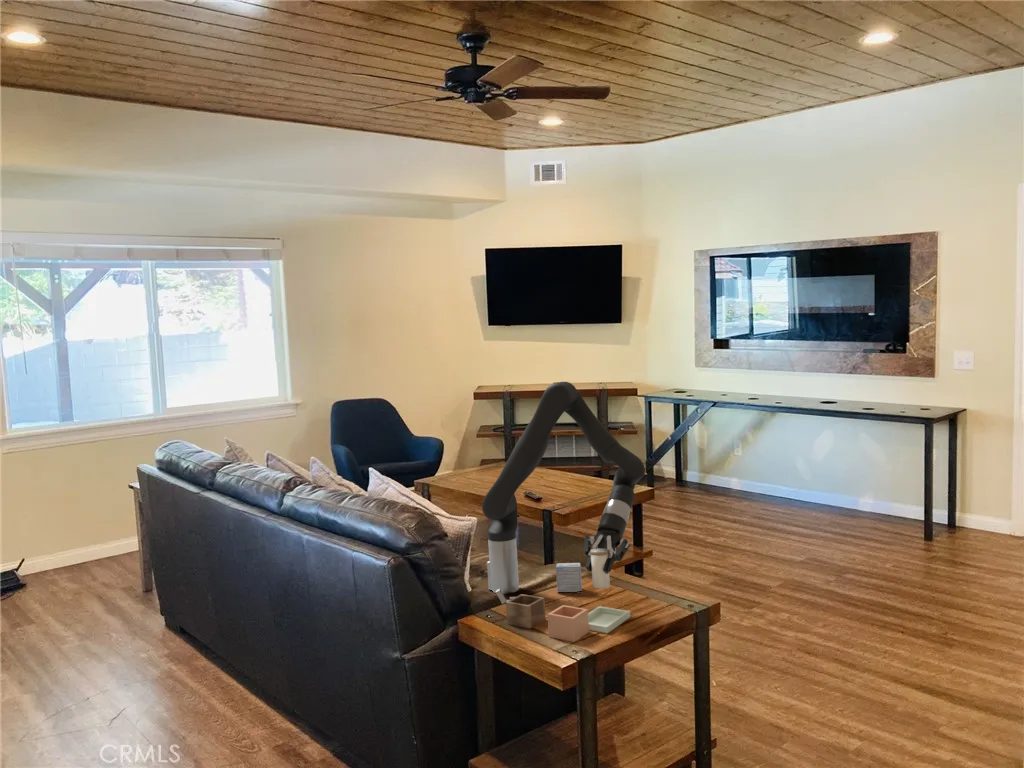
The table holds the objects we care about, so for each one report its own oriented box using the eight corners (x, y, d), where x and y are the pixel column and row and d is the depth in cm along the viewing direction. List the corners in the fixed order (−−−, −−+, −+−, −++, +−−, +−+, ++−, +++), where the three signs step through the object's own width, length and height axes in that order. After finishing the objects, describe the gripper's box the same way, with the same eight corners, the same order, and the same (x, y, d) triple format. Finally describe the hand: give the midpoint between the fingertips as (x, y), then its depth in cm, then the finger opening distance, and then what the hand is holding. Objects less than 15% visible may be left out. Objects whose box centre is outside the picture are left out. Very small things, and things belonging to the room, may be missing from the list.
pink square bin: (548, 639, 207) (547, 614, 206) (564, 629, 213) (562, 605, 213) (574, 644, 202) (573, 618, 202) (589, 634, 209) (588, 609, 208)
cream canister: (588, 586, 214) (586, 551, 214) (597, 581, 218) (595, 547, 218) (605, 589, 211) (602, 553, 211) (613, 583, 215) (611, 548, 215)
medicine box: (582, 588, 249) (580, 562, 248) (581, 593, 244) (580, 566, 244) (557, 589, 249) (556, 563, 249) (557, 593, 245) (555, 567, 245)
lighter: (521, 613, 228) (519, 587, 228) (520, 615, 227) (519, 589, 226) (497, 614, 229) (495, 588, 228) (497, 616, 227) (495, 590, 227)
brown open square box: (507, 626, 218) (505, 602, 218) (522, 617, 225) (521, 594, 224) (530, 631, 214) (529, 606, 213) (545, 621, 220) (544, 597, 220)
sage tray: (575, 630, 212) (574, 621, 212) (599, 614, 224) (599, 606, 224) (607, 636, 206) (606, 627, 206) (630, 619, 218) (630, 611, 218)
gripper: (588, 510, 224) (569, 561, 215) (632, 513, 216) (615, 567, 206) (597, 524, 229) (580, 574, 219) (641, 528, 220) (625, 581, 211)
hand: (597, 570), depth 213 cm, fingers closed on cream canister, 4 cm apart
